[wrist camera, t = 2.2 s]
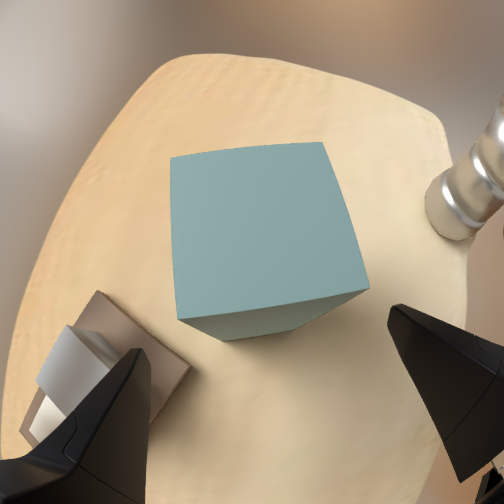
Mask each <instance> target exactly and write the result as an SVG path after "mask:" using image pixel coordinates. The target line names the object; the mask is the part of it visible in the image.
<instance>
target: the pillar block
mask: <svg viewBox="0 0 504 504" xmlns="http://www.w3.org/2000/svg"><path fill="white" fill-rule="evenodd" d="M170 206H171V238H172V258H173V274H174V287H175V299H176V310H177V319H178V320H180V321H182V322H184V323H186V324H188V325H190V326H192V327H194V328H196V329H198V330H200V331H202V332H204V333H206V334H208V335H210V336H212V337H214V338H216V339H218V340H220V341H229V340H236V339H243V338H250V337H256V336H263V335H269V334H275V333H281V332H286V331H292V330H294V329H296V328H298V327H300V326H302V325H304V324H306V323H308V322H310V321H312V320H314V319H315V318H317V317H319V316H321V315H323V314H325V313H327V312H329V311H330V310H332V309H334V308H336V307H338V306H339V305H341V304H343V303H345V302H347V301H348V300H350V299H352V298H354V297H355V296H357V295H359V294H361V293H362V292H364V291H366V290H367V289H369V288H370V285H369V281H368V277H367V274H366V270H365V266H364V262H363V259H362V255H361V252H360V248H359V245H358V241H357V238H356V235H355V232H354V228H353V225H352V222H351V219H350V216H349V213H348V210H347V207H346V204H345V201H344V198H343V195H342V192H341V190H340V187H339V184H338V181H337V179H336V176H335V173H334V171H333V168H332V165H331V163H330V160H329V158H328V155H327V153H326V150H325V148H324V145H323V143H322V142H312V143H291V144H276V145H263V146H253V147H243V148H234V149H226V150H218V151H210V152H203V153H197V154H190V155H184V156H178V157H173V158H171V160H170Z"/></svg>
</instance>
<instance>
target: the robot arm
mask: <svg viewBox="0 0 504 504" xmlns="http://www.w3.org/2000/svg"><path fill="white" fill-rule="evenodd" d="M387 326H388V330H389V332H390V334H391V336H392V339H393V341H394V343H395V346H396V348H397V350H398V353H399V355H400V357H401V359H402V361H403V363H404V365H405V367H406V369H407V371H408V373H409V374H410V376H411V378H412V380H413V382H414V384H415V386H416V388H417V390H418V392H419V394H420V396H421V398H422V399H423V401H424V403H425V405H426V408H427V410H428V412H429V414H430V416H431V418H432V420H433V422H434V424H435V426H436V428H437V431H438V433H439V435H440V437H441V439H442V442H444V443H443V444H444V447H445V449H446V451H447V453H448V456H449V458H450V460H451V463H452V465H453V468H454V470H455V473H456V476H457V478H458V481H459V482H460V483H462V482H463V481H465V480H466V479H467V478H469V477H470V476H472V475H473V474H474V473H476V472H477V471H478V470H480V469H481V468H482V467H484V466H485V465H486V464H488V463H489V462H490V461H491V462H492V464H493V466H494V467H493V468H492V469H491V470H490V471H488V472H487V473H486V474H485V475H484V476H482V481H481V484H480V487H479V490H478V494H477V497H476V500H475V502H476V503H475V504H504V347H503V346H501V345H498V344H495V343H492V342H490V341H488V340H485V339H483V338H480V337H478V336H476V335H475V336H474V334H471V333H469V332H467V331H464V330H462V329H460V328H458V327H455V326H453V325H451V324H448V323H446V322H444V321H441V320H439V319H437V318H434V317H432V316H430V315H427V314H425V313H423V312H420V311H418V310H416V309H413V308H411V307H409V306H406V305H404V304H396V305H393V306H392V307H391V309H390V313H389V318H388V322H387ZM150 413H151V364H150V362H149V359H148V357H147V355H146V353H145V351H144V349H143V348H142V347H133V348H131V349H129V351H128V352H127V353H126V354H125V355H124V356H123V357H122V358H121V359H120V360H119V361H118V362H117V363H116V364H115V365H114V366H113V367H112V369H111V370H110V371H109V372H108V373H107V374H106V375H105V376H104V377H103V378H102V379H101V380H100V381H99V382H98V384H97V385H96V386H95V387H94V388H93V389H92V390H91V391H90V392H89V393H88V394H87V395H86V397H85V398H84V399H83V400H82V401H81V402H80V403H79V404H78V405H77V406H76V407H75V409H74V410H73V411H72V412H71V413H70V414H69V415H68V416H67V417H66V418H65V419H64V420H63V421H62V423H61V424H60V425H59V426H58V427H57V428H55V429H54V430H53V431H52V432H51V433H50V434H49V435H48V436H47V437H46V438H45V439H44V440H43V441H41V442H40V443H39V444H38V445H37V446H36V447H35V448H34V449H33V450H31V451H30V452H29V453H28V454H26V455H25V456H22V457H20V458H15V459H6V460H0V504H145V486H146V463H147V447H148V434H149V423H150Z"/></svg>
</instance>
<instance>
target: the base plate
mask: <svg viewBox="0 0 504 504" xmlns="http://www.w3.org/2000/svg"><path fill="white" fill-rule="evenodd" d="M133 347H142V348H143V349H144V351H145V353H146V355H147V357H148V359H149V362H150V364H151V413H150V423H149V426H150V424H151V423H152V421H153V420H154V419H155V417H156V416H157V414H158V413H159V412H160V410H161V409H162V407H163V406H164V405H165V403H166V402H167V401H168V399H169V398H170V396H171V395H172V393H173V392H174V391H175V389H176V388H177V386H178V385H179V384H180V382H181V381H182V379H183V378H184V377H185V375H186V374H187V372H188V371H189V369H190V368H191V367H192V365H191V364H189V363H188V362H187V361H185V360H184V359H182V358H181V357H180V356H178V355H177V354H176V353H174V352H173V351H172V350H170V349H169V348H168V347H166V346H165V345H164V344H163V343H161V342H160V341H159V340H158V339H156V338H155V337H154V336H153V335H151V334H150V333H149V332H148V331H146V330H145V329H144V328H143V327H142V326H140V325H139V324H138V323H137V322H136V321H134V320H133V319H132V318H131V317H130V316H129V315H127V314H126V313H125V312H124V311H123V310H122V309H121V308H119V307H118V306H117V305H116V304H115V303H114V302H113V301H112V300H111V299H110V298H108V297H107V296H106V295H105V294H104V293H102V292H100V291H98V290H97V291H96V292H95V294H94V295H93V297H92V298H91V300H90V301H89V303H88V304H87V306H86V307H85V309H84V310H83V312H82V313H81V315H80V316H79V318H78V320H77V321H76V323H75V324H74V326H69V325H66V326H65V328H64V329H63V331H62V333H61V334H60V336H59V338H58V339H57V341H56V343H55V345H54V346H53V348H52V350H51V352H50V353H49V355H48V357H47V359H46V361H45V363H44V365H43V366H42V368H41V370H40V372H39V374H38V376H37V378H36V380H35V381H36V382H37V383H38V385H39V388H38V390H37V392H36V394H35V396H34V399H33V401H32V403H31V405H30V407H29V409H28V411H27V414H26V416H25V418H24V420H23V423H22V425H21V428H20V430H19V432H20V433H21V434H22V435H23V437H24V438H25V439H26V440H27V442H28V443H29V444H30V445H31V446H32V448H33V449H34V448H35V447H36V446H37V445H38V444H39V443H40V442H41V441H43V440H44V439H45V438H46V437H47V436H48V435H49V434H50V433H51V432H52V431H53V430H54V429H55V428H57V427H58V426H59V425H60V424H61V423H62V421H63V420H64V419H65V418H66V417H67V416H68V415H69V414H70V413H71V412H72V411H73V410H74V409H75V407H76V406H77V405H78V404H79V403H80V402H81V401H82V400H83V399H84V398H85V397H86V395H87V394H88V393H89V392H90V391H91V390H92V389H93V388H94V387H95V386H96V385H97V384H98V382H99V381H100V380H101V379H102V378H103V377H104V376H105V375H106V374H107V373H108V372H109V371H110V370H111V369H112V367H113V366H114V365H115V364H116V363H117V362H118V361H119V360H120V359H121V358H122V357H123V356H124V355H125V354H126V353H127V352H128V351H129V349H131V348H133Z"/></svg>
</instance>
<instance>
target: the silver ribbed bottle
mask: <svg viewBox="0 0 504 504" xmlns="http://www.w3.org/2000/svg"><path fill="white" fill-rule="evenodd" d="M503 205H504V95H503V97H502V98H501V100H500V101H499V104H498V106H497V108H496V110H495V112H494V114H493V116H492V117H491V119H490V121H489V123H488V125H487V127H486V129H485V130H484V131H483V133H482V134H481V136H480V137H479V138H478V140H477V142H476V143H475V144H474V145H473V146H472V148H471V149H470V150H469V151H468V152H467V153H466V154H465V155H464V156H463V157H462V158H461V159H460V160H459V161H458V162H456V163H455V164H454V165H453V166H452V167H451V168H449V169H447V170H446V171H444V172H442V173H441V174H440V175H439V176H437V177H436V178H435V179H434V180H433V181H432V182H431V184H430V186H429V188H428V189H427V191H426V193H425V212H426V215H427V217H428V219H429V221H430V223H431V224H432V226H433V227H434V228H435V230H436V231H437V232H438V233H439V234H441V235H442V236H444V237H446V238H448V239H452V240H456V241H460V240H463V239H466V238H468V237H471V236H473V235H474V234H475V233H477V231H479V230H480V228H482V227H483V225H484V224H485V223H486V222H487V220H488V219H489V218H490V217H491V216H492V215H493V214H494V213H495V212H496V211H497V210H499V209H500V208H501V207H502V206H503Z"/></svg>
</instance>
